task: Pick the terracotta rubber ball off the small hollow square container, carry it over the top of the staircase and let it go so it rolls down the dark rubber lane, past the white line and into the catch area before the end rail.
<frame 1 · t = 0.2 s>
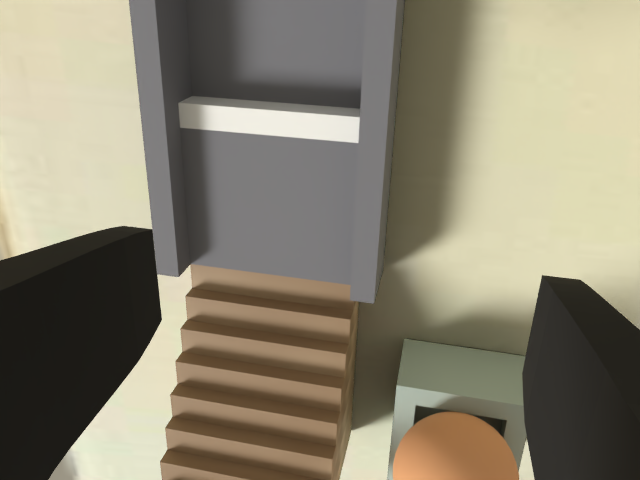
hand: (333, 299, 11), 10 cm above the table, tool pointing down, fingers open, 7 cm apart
ball: (454, 475, 20), point 4 cm above the table, touching hollow square container
lane: (281, 94, 20), on the table
staircase: (281, 335, 24), on the table
hollow square container: (456, 394, 23), on the table
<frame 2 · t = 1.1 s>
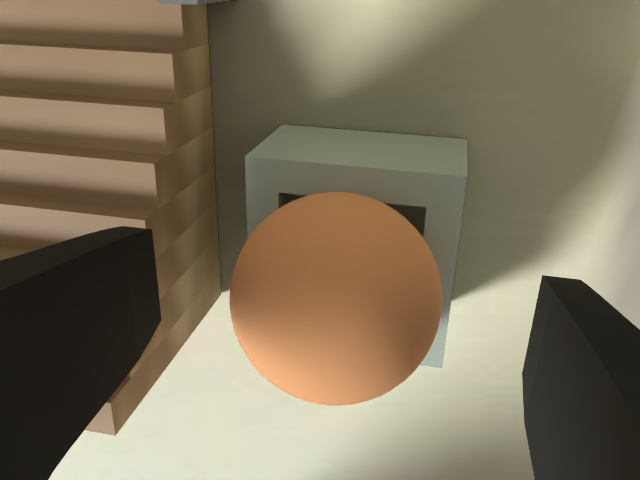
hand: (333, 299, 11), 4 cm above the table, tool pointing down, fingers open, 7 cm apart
ball: (335, 296, 11), point 4 cm above the table, touching hollow square container
staircase: (106, 137, 16), on the table
hollow square container: (366, 217, 15), on the table
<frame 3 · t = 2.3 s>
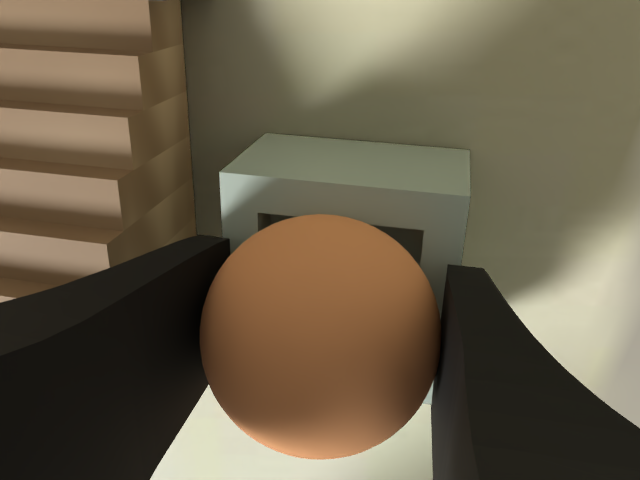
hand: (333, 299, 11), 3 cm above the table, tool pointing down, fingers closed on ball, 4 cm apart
ball: (320, 333, 10), point 4 cm above the table, touching gripper, hollow square container
staircase: (74, 145, 14), on the table
hollow square container: (359, 234, 14), on the table
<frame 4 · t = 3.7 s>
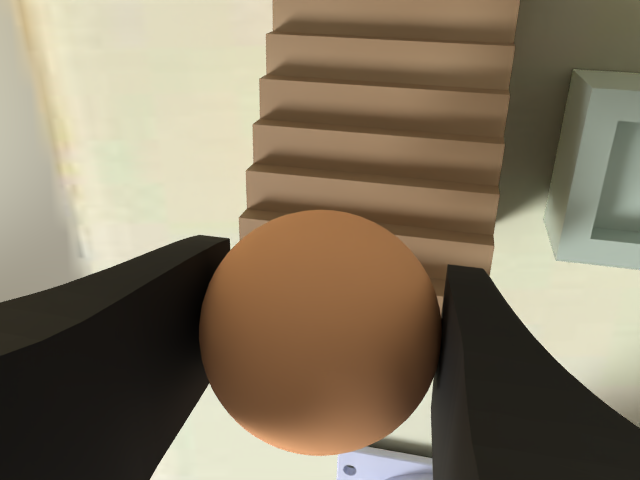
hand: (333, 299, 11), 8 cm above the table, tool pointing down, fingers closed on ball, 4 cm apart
ball: (320, 329, 10), point 9 cm above the table, touching gripper
staircase: (392, 84, 17), on the table
when the fingers open (7 cm above the table, at t = 4.2 s): ball drops 6 cm and tips over, resting on lane.
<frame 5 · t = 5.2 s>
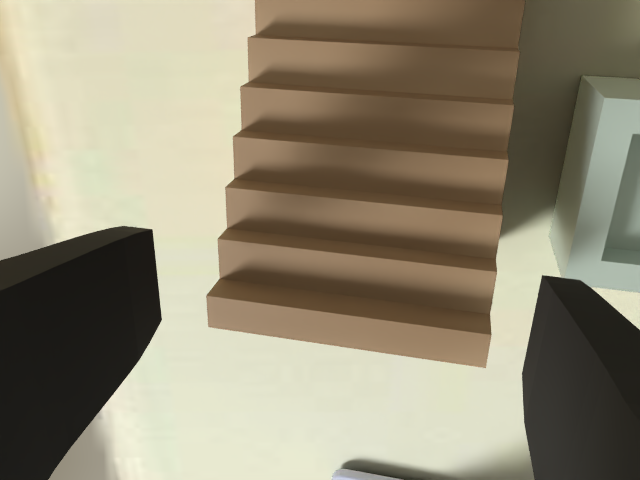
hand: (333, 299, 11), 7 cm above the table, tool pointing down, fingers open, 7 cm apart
staircase: (387, 91, 16), on the table
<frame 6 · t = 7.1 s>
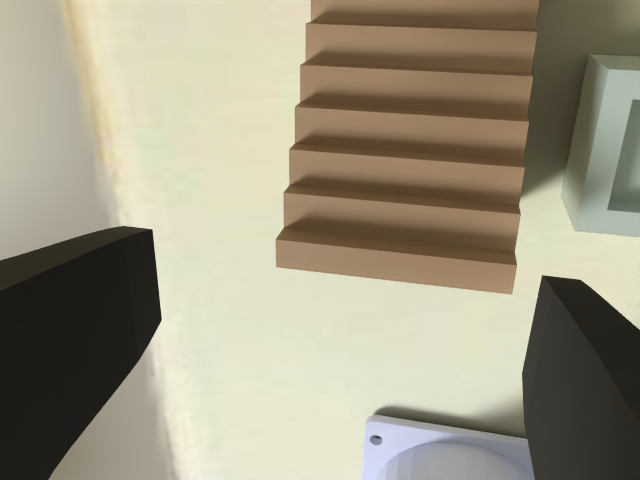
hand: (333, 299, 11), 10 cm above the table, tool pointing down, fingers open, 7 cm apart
staircase: (419, 70, 19), on the table
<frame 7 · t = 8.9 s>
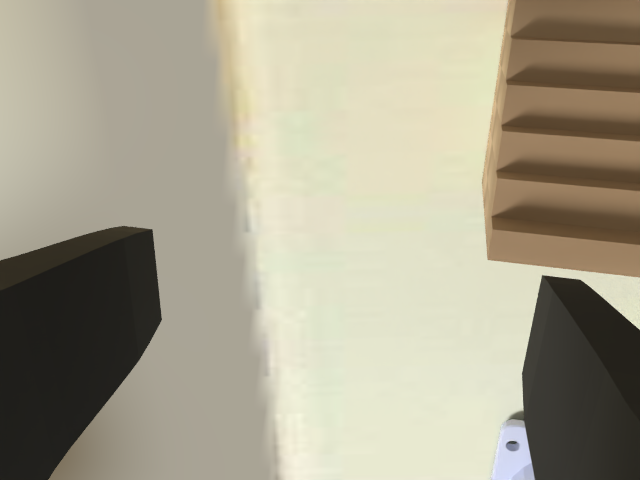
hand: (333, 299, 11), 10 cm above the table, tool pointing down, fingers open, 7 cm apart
staircase: (610, 50, 17), on the table
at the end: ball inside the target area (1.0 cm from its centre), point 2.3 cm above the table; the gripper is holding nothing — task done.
